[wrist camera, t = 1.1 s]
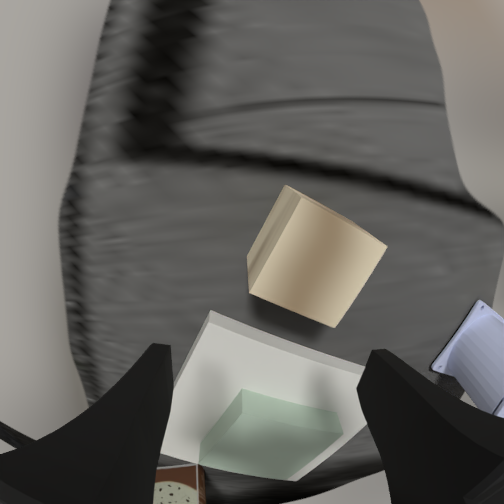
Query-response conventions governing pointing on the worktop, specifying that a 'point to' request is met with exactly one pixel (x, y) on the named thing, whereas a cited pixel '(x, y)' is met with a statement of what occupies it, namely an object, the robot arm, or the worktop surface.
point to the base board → (258, 373)
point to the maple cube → (311, 258)
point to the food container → (180, 485)
